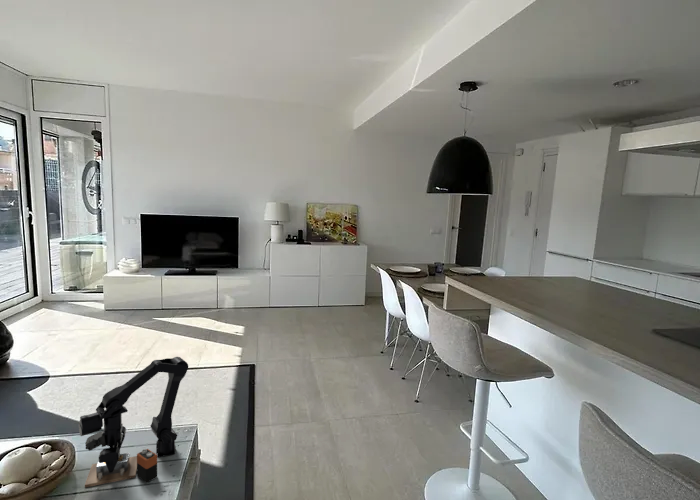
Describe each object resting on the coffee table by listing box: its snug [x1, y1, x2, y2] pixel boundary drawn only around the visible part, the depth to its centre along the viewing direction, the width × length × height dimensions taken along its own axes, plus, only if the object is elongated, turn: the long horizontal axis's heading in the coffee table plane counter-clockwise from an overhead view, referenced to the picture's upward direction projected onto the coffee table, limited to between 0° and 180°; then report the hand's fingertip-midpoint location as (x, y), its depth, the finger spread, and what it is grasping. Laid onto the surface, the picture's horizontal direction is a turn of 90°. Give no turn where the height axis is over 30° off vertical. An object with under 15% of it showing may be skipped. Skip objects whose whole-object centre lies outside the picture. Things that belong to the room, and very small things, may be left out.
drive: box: [96, 452, 130, 477], centre depth 146 cm, size 10×6×4 cm, turn 113°
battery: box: [136, 448, 158, 484], centre depth 144 cm, size 4×7×10 cm, turn 57°
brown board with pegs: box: [84, 455, 137, 488], centre depth 146 cm, size 16×12×3 cm
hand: (113, 464), depth 146 cm, fingers open, 9 cm apart
